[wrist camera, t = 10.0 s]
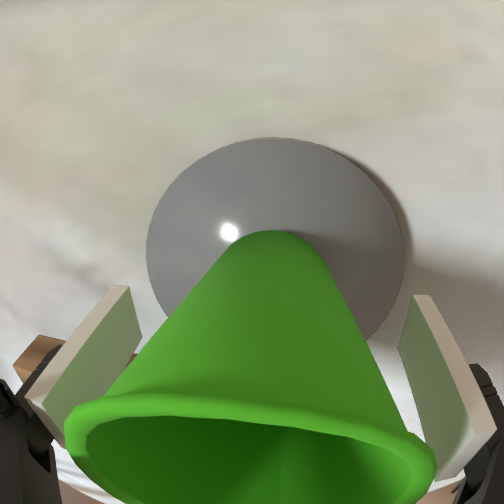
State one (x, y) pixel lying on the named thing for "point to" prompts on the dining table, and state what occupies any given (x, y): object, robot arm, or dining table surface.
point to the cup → (253, 397)
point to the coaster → (279, 221)
